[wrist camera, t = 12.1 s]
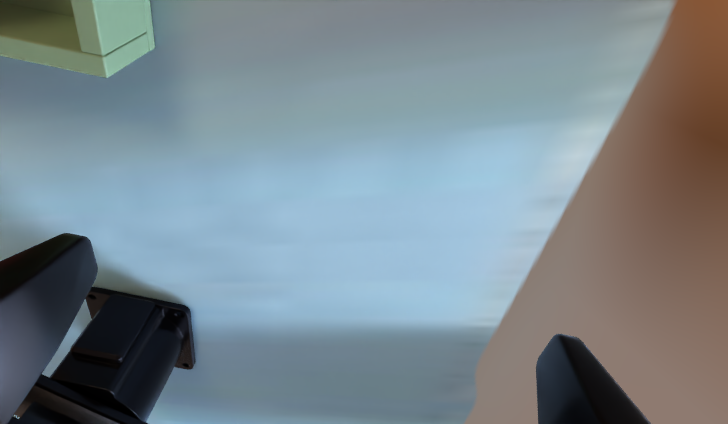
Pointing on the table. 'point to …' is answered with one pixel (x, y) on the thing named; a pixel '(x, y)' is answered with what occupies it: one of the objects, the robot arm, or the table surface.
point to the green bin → (77, 33)
